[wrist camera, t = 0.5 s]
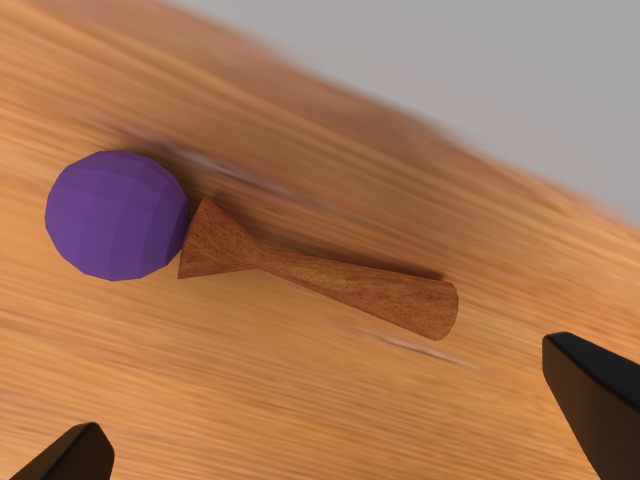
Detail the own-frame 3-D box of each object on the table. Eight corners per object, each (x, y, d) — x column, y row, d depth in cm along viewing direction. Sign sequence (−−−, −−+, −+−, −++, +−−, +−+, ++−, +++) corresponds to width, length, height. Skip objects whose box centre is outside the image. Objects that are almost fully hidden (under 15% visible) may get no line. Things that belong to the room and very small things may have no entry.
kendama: (426, 389, 22) (14, 286, 18) (404, 311, 27) (80, 216, 23) (490, 309, 19) (13, 162, 15) (453, 239, 24) (89, 114, 20)
